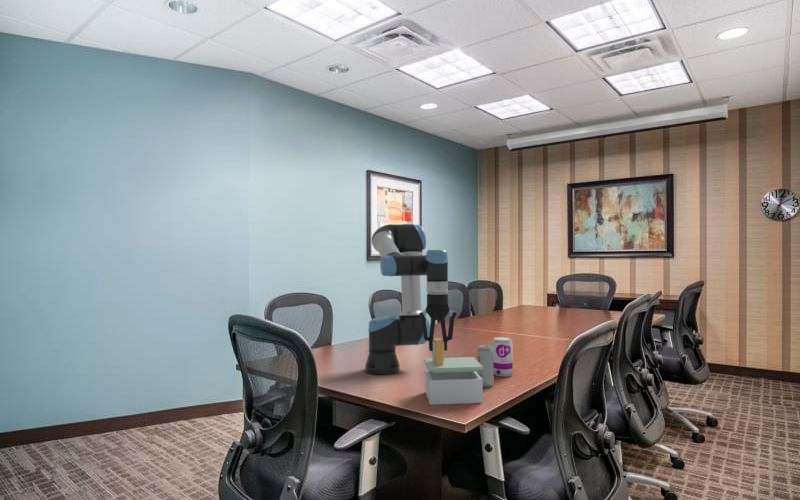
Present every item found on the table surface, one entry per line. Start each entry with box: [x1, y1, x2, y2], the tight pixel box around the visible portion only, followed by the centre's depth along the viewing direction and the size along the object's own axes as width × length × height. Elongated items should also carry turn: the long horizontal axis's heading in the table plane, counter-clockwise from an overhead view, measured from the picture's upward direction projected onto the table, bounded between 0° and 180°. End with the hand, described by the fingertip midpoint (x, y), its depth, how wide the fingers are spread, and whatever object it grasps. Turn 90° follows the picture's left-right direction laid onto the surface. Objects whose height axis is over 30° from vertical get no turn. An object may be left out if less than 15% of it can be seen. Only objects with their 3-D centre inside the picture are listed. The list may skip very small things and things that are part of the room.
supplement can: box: [491, 336, 514, 378], centre depth 189 cm, size 8×8×15 cm
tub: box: [424, 369, 484, 405], centre depth 160 cm, size 18×14×8 cm
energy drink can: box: [476, 344, 495, 388], centre depth 174 cm, size 6×6×15 cm
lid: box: [423, 337, 483, 373], centre depth 160 cm, size 19×15×10 cm
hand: (438, 359), depth 160 cm, fingers closed on lid, 2 cm apart
